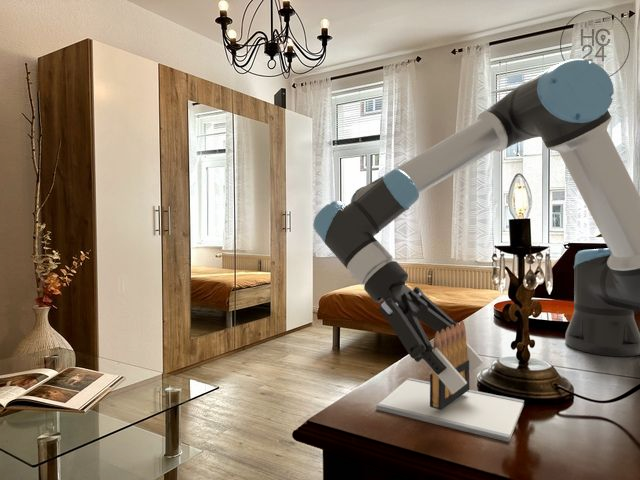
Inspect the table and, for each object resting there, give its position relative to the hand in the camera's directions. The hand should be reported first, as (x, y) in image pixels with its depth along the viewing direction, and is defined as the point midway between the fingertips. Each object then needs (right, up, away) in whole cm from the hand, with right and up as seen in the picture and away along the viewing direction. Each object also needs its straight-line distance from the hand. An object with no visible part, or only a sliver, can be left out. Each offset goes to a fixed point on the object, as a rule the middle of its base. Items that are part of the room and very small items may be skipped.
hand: (469, 376), depth 69 cm
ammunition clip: (-2, -4, +2) cm, 5 cm away
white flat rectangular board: (-2, -5, +2) cm, 6 cm away
